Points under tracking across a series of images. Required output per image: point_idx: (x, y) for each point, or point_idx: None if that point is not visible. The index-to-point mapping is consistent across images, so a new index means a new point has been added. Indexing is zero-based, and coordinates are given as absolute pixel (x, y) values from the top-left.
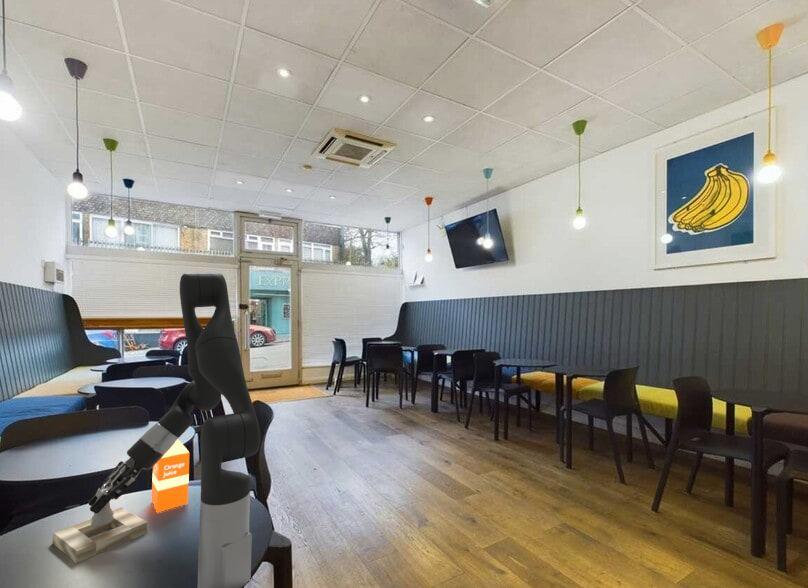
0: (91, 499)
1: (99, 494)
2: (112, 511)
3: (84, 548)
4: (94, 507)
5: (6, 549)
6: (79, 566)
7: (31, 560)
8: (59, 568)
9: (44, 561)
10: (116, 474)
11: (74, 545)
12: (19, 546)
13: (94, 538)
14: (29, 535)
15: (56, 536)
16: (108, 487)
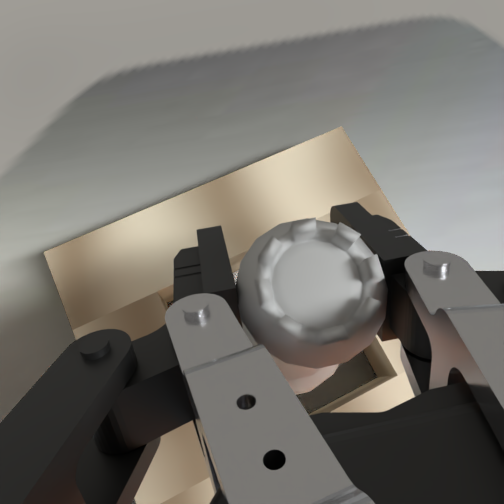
0: (348, 212)
1: (249, 255)
2: (300, 384)
3: (54, 281)
4: (184, 255)
5: (367, 26)
6: (26, 284)
7: (215, 113)
8: (68, 214)
9: (174, 154)
10: (484, 405)
11: (121, 232)
12: (370, 56)
13: (141, 314)
14: (459, 68)
15: (298, 147)
16: (365, 322)
